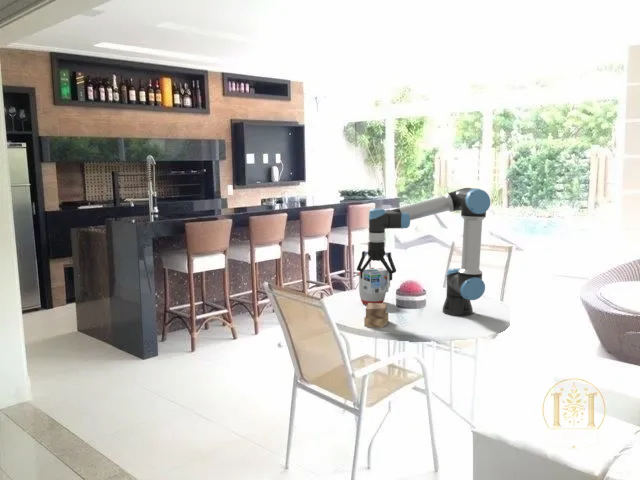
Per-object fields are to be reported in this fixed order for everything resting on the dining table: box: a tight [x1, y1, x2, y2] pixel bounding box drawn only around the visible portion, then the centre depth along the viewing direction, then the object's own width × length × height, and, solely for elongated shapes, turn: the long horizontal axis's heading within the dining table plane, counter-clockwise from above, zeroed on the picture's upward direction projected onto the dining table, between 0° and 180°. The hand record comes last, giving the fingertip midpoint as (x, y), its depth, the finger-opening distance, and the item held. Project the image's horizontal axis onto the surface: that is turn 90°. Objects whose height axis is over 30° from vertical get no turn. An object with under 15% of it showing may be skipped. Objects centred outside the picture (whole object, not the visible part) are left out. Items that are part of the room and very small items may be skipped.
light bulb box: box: [364, 267, 390, 294], centre depth 281 cm, size 11×7×11 cm, turn 118°
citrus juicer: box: [358, 267, 387, 306], centre depth 323 cm, size 16×17×20 cm
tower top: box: [365, 302, 387, 319], centre depth 283 cm, size 9×12×4 cm
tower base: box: [363, 312, 389, 329], centre depth 283 cm, size 9×12×4 cm
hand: (376, 286), depth 281 cm, fingers closed on light bulb box, 11 cm apart
